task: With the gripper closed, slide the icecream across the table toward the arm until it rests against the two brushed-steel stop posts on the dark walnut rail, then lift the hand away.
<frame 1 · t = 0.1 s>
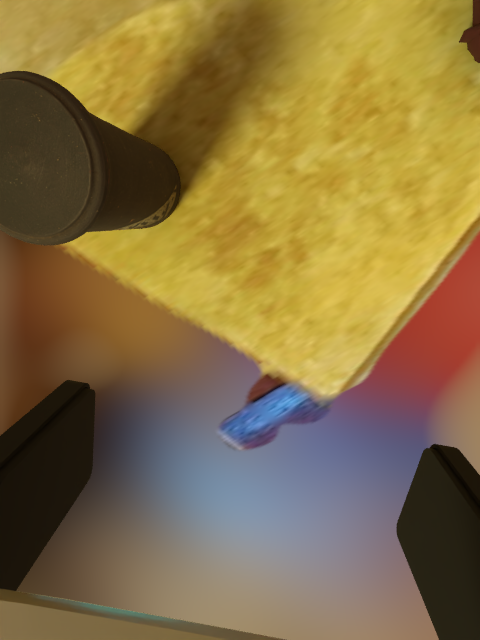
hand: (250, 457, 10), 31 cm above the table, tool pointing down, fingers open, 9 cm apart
container: (143, 186, 38), on the table
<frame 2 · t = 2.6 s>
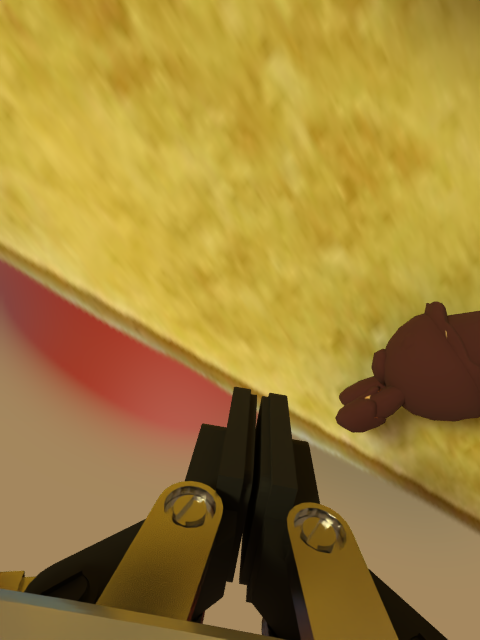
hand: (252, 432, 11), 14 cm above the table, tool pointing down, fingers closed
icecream: (427, 340, 25), on the table
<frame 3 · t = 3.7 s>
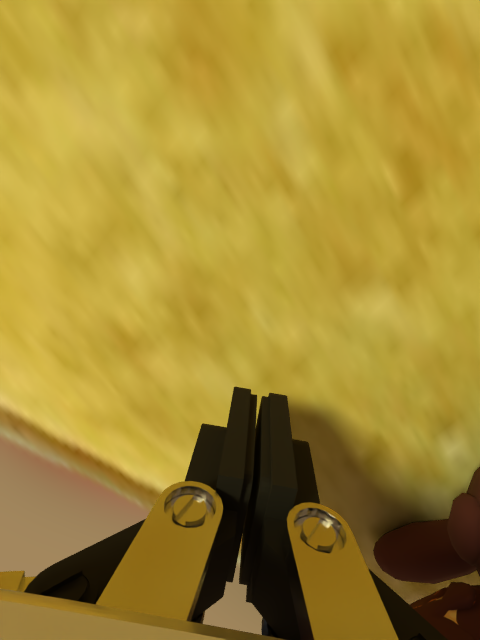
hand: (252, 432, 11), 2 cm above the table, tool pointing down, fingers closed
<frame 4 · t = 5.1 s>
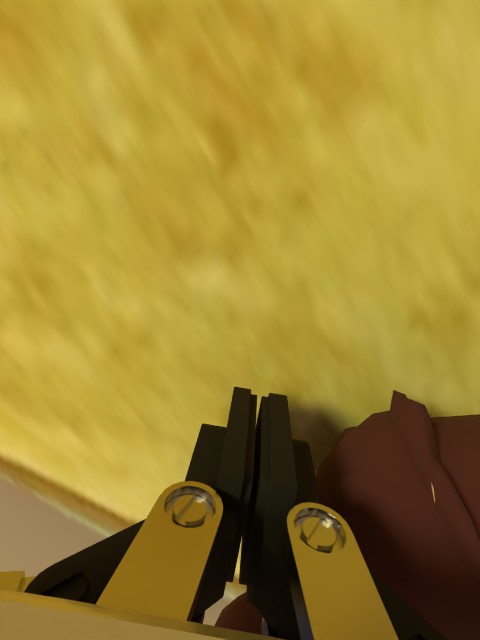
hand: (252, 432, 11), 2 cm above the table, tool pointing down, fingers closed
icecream: (400, 439, 14), on the table, touching gripper
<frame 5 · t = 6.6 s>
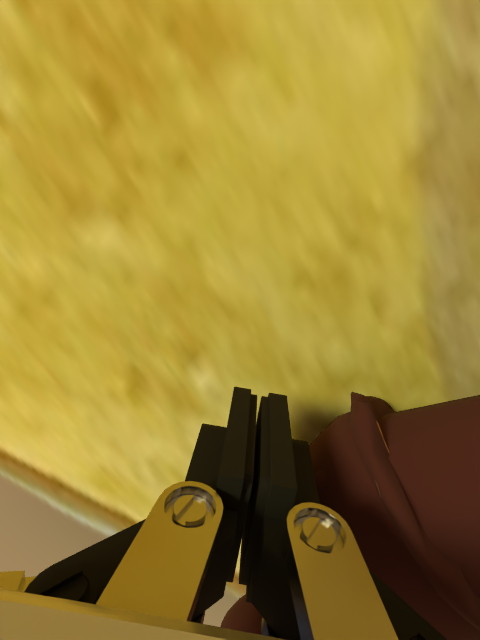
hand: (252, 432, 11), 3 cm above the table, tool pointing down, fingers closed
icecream: (382, 433, 14), on the table, touching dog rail, gripper
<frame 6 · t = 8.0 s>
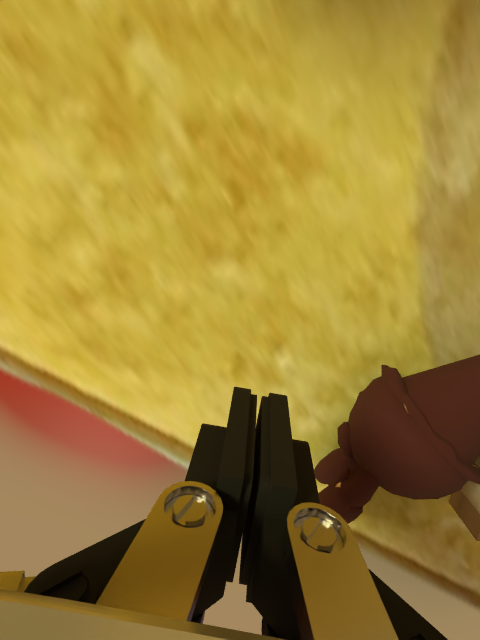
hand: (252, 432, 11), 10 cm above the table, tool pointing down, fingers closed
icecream: (394, 394, 22), on the table
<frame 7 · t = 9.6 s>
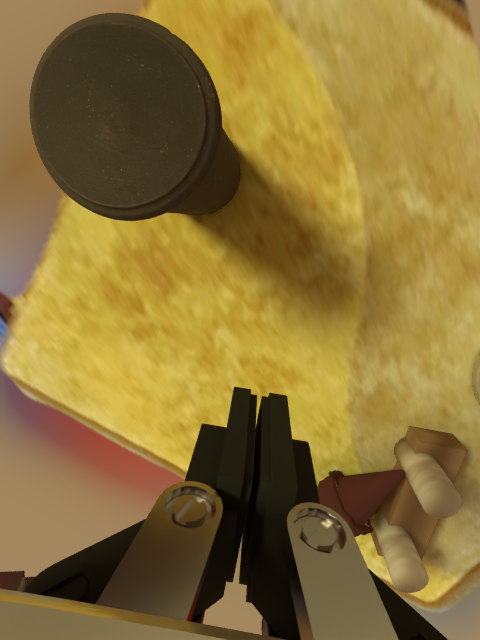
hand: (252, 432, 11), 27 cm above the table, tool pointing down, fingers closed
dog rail: (409, 486, 43), on the table
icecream: (339, 480, 44), on the table
container: (198, 170, 35), on the table
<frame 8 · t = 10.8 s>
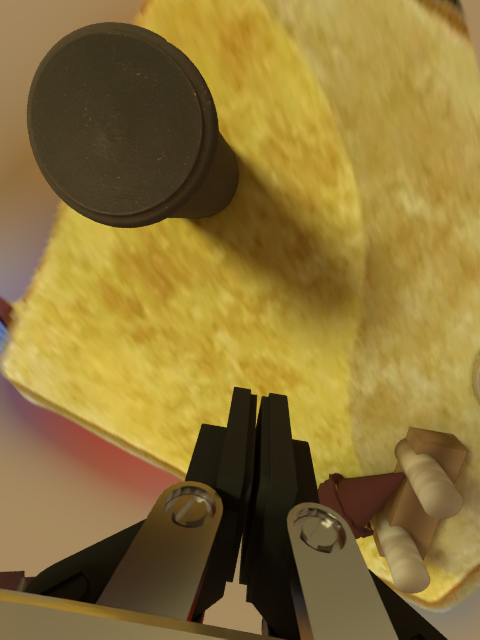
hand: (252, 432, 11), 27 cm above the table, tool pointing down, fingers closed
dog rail: (410, 487, 43), on the table
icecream: (339, 483, 44), on the table
container: (196, 174, 35), on the table
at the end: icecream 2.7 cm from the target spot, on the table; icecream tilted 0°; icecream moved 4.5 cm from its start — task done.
